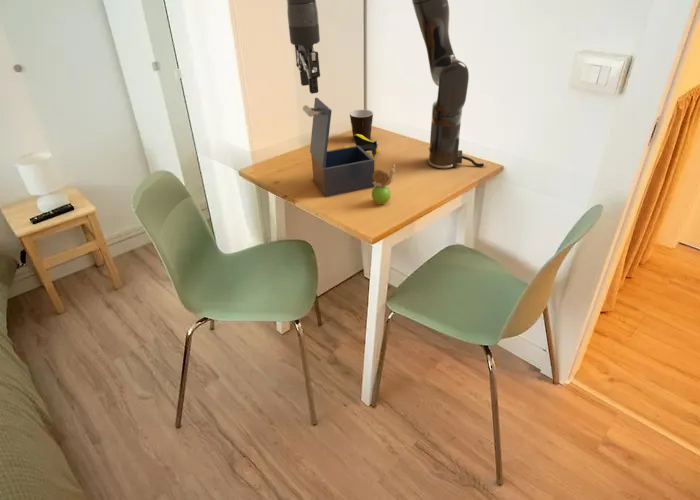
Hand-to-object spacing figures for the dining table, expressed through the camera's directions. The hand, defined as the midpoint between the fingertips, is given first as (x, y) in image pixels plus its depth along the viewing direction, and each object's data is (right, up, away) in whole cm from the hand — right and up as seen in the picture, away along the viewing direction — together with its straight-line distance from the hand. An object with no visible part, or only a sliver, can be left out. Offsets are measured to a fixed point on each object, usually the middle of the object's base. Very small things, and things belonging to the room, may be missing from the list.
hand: (309, 88), depth 125 cm
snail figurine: (+20, -30, +10) cm, 37 cm away
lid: (+3, -9, +9) cm, 14 cm away
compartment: (+9, -22, +21) cm, 32 cm away
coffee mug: (+15, -2, +50) cm, 52 cm away
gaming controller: (+15, -10, +38) cm, 42 cm away
